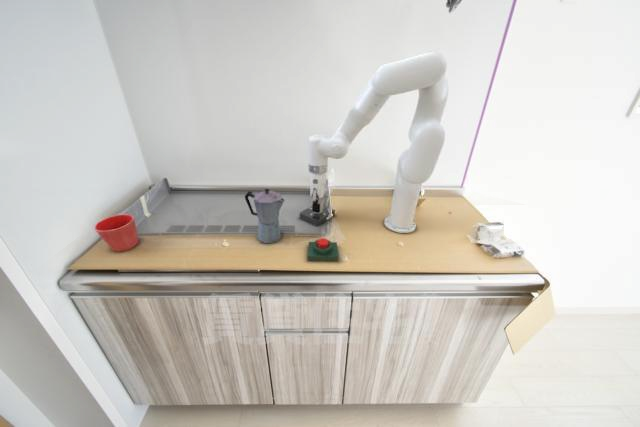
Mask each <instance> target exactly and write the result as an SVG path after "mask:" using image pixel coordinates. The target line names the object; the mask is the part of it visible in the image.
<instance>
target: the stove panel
mask: <svg viewBox="0 0 640 427" xmlns="http://www.w3.org/2000/svg"><path fill="white" fill-rule="evenodd" d="M327 207H328V206H326V205H323V212H322V213H320V214H315V213H313V212H312V206H310V207H307V208H306V209H304V210H302V211H300V212H299V220H302V221H304V222H306V223H309V224H310V225H312V226H315V227H319V226H321V225H323V224H324V223H326V222H328V220H327V219H326V218H327V217H328V215H329V212H328V210H327ZM331 209H332V214H333V217H332V218H334V217H335V216H336V209H334V208H331Z"/></svg>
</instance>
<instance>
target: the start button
mask: <svg viewBox="0 0 640 427" xmlns="http://www.w3.org/2000/svg"><path fill="white" fill-rule="evenodd" d="M317 240H318V247H319V248H327V247H328V240H329V239H327V238H324V237H323V238H319V239H317Z"/></svg>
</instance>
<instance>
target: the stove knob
mask: <svg viewBox="0 0 640 427" xmlns="http://www.w3.org/2000/svg"><path fill="white" fill-rule="evenodd" d="M322 198H323V197H322ZM322 198H320V201H319V204H320V212H319V213H318V212H313V213H315V214H320V213H322V212H323V206H324V199H322ZM312 199H313V197H311V200H312ZM316 200H318V198H316Z"/></svg>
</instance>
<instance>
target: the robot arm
mask: <svg viewBox="0 0 640 427" xmlns="http://www.w3.org/2000/svg"><path fill="white" fill-rule="evenodd" d="M447 67H448V66H447V60H446V58H445V56H444V55H443V54H442V53H441V52H438V51H429V52H425V53H422V54H421V53H420V54H417V55H414V56H411V57H406V58H404V59H401V60H396V61H392V62H388V63H384V64H382V65H381V66H379V67H378V68H377V69H376V71H375V72H374V73H373V75H372V76H371V78H370V79H369V81H368V82H367V83H366V84H365V87H364V88H363V89H362V91H361V92H360V93H359V95H358V97H357V98H356V99H355V101H354V103H353V104H352V106H351V108H350V109H349V111H348V113H347V115H346V117H345V118H344V120H342V122H341V124H340V125H339V127H338V128H337V130H335V133H334V134H333V135H332V137H328V136H327V135H325V134H312V135H310V136H309V137H308V141H307V143H308V145H307V146H308V149H307V150H308V152H307V153H308V154H307V155H308V156H307V157H308V158H307V159H308V161H307V163H308V173H309V174H310V181H309V182H310V184H309V186H310V187H309V188H310V189H309V190H310V191H309V193H310V195H309V196H310V197H311V207H312V212H318V213H319V212H320V204H319V201H320V198H322V199H323V198H324V195H325V193H326V192H327V173H328V168H329V167H328V166H329V158H331V159H335V160H340V159H343V158H344V157H346V156H347V154H348V152H349V147H350V146H351V145H352V143H353V141H354V140H355V139H356V137H357V136H358V135H359V134H360V133H361V131H362V130H363V129H364V128H366V126H368V125H370V123H372V122H373V120H374V119H375V118H376V116H377V115H378V114H379V112H380V111H381V109H382V108H383V107H384V106H385V104H386V103H387V101H389V99H390V97H391V96H396V95H400V94H406V93H409V92H413V91H418V99H417V104H416V108H415V112H414V115H413V118H412V121H411V124H410V127H409V130H408V139H409V141H410V145H409V148H408V149H406V150H404V151H403V152H402V153H401V154H400V155H399V158H398V160H397V166H396V176H395V183H394V189H393V192H392V193H393V194H392V198H391V205H390V209H389V214H388V216H387V217H386V218H384V221H383V224H384V226H385V227H386V228H387V229H389V230H390V231H392V232H396V233H399V234H409V233H412V232H414V231H415V230H416V228H417V225H416V223H415V221H414V219H415V215H416V210H417V206H418V201H419V198H420V194H421V190H422V185H423V184H424V183H426V182H427V181H428V180H429V179H430V178H431V176H432V175H433V173H434V170H435V168H436V165H437V163H438V160H439V158H440V155H441V152H442V149H443V147H444V145H445V141H446V140H445V139H446V132H445V129H444V127H443V126H442V124H441V121H442V118H443V115H444V112H445V108H446V105H447V101H448V98H449V97H448V96H449V85H448V79H447V77H446V71H447ZM312 198H313V199H312ZM316 198H318V200H316ZM323 200H324V199H323Z"/></svg>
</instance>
